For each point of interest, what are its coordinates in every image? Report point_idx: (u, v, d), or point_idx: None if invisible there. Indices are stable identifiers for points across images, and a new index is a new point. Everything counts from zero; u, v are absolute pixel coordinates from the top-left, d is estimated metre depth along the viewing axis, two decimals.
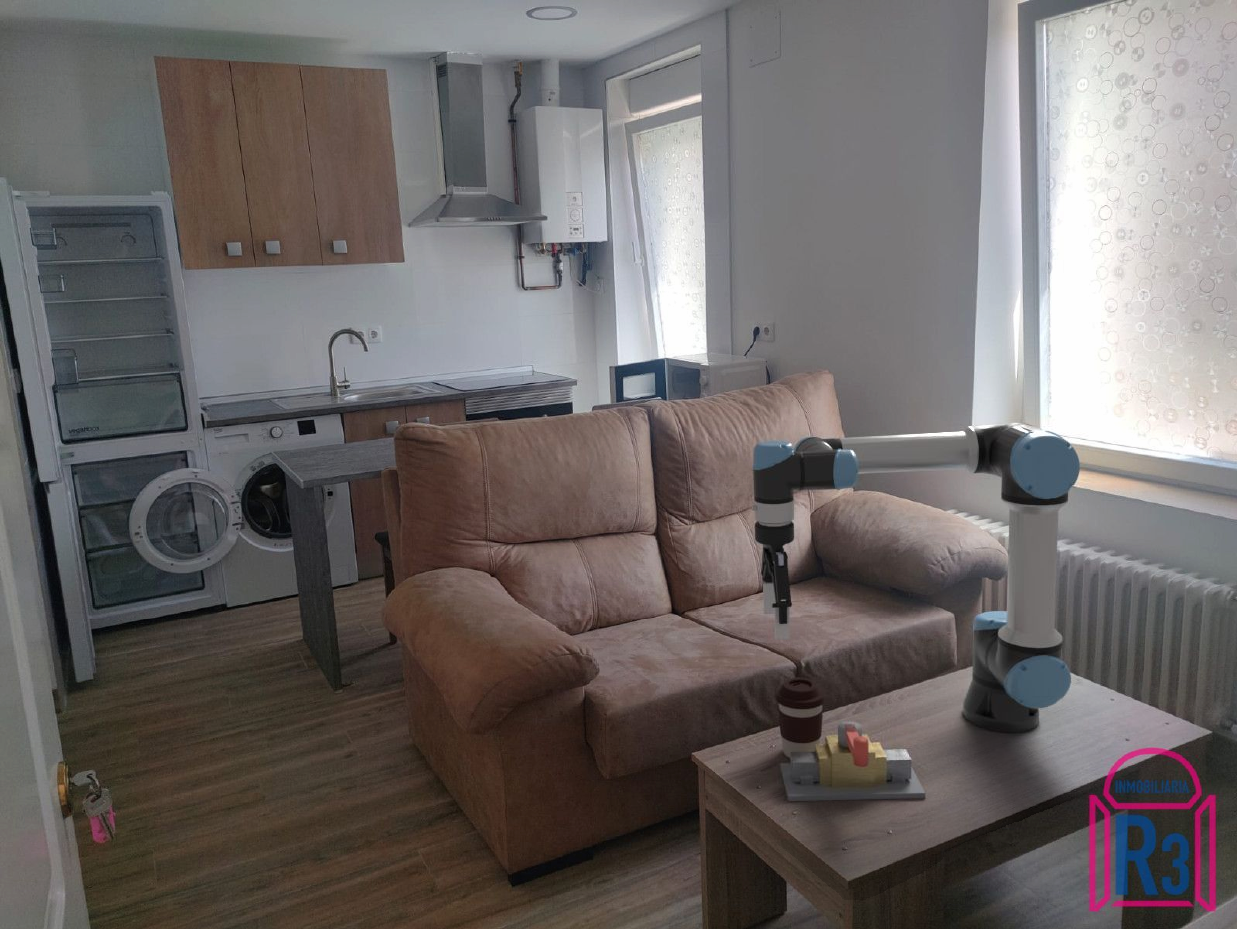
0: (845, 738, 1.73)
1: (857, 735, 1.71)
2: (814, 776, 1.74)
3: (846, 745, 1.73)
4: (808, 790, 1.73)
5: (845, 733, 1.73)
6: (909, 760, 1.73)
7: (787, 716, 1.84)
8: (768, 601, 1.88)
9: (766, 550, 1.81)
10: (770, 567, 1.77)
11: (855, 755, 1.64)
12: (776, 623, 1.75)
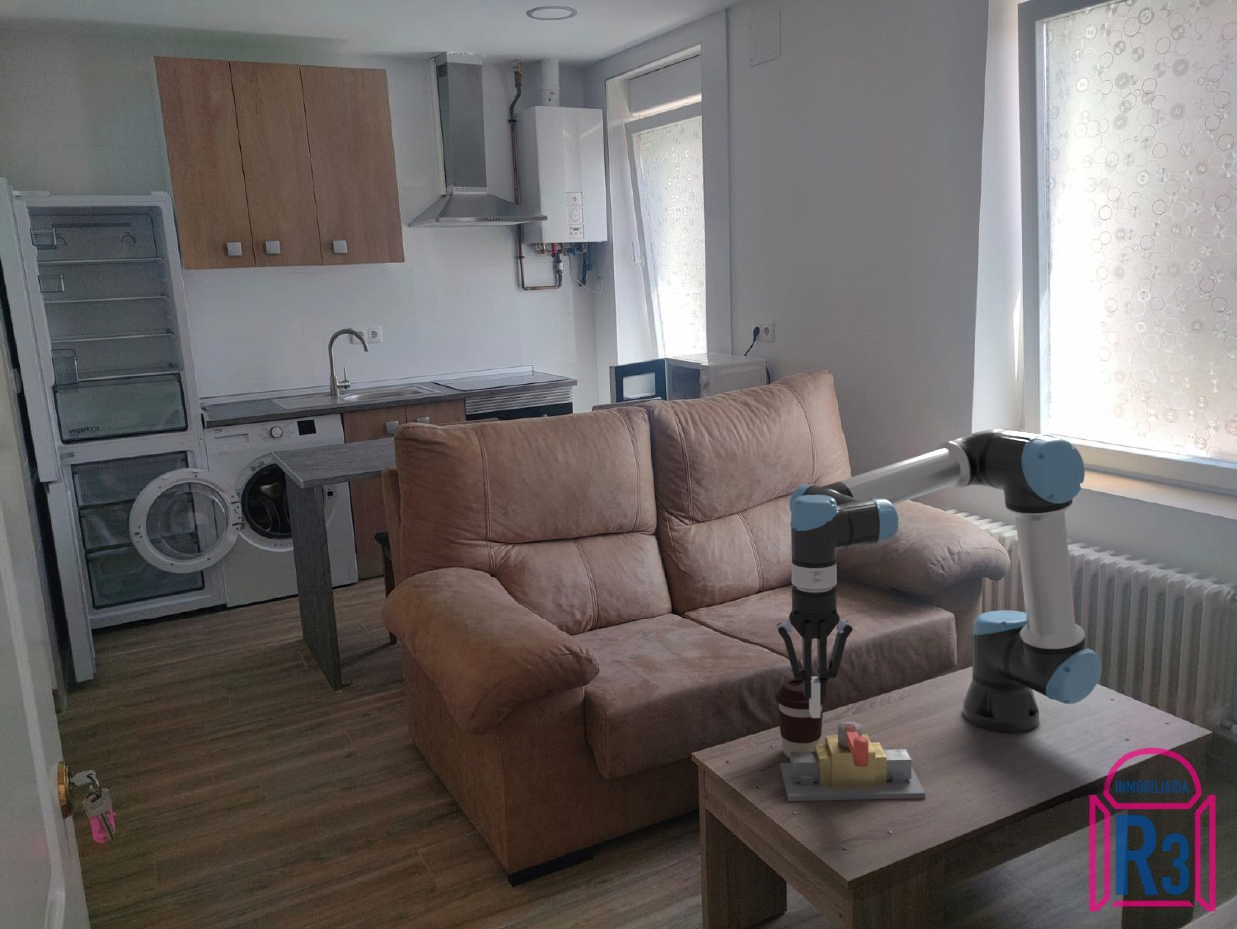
0: (845, 738, 1.73)
1: (857, 735, 1.71)
2: (814, 776, 1.74)
3: (846, 745, 1.73)
4: (808, 790, 1.73)
5: (845, 733, 1.73)
6: (909, 760, 1.73)
7: (787, 716, 1.84)
8: None
9: (808, 621, 1.58)
10: (826, 639, 1.58)
11: (855, 755, 1.64)
12: None
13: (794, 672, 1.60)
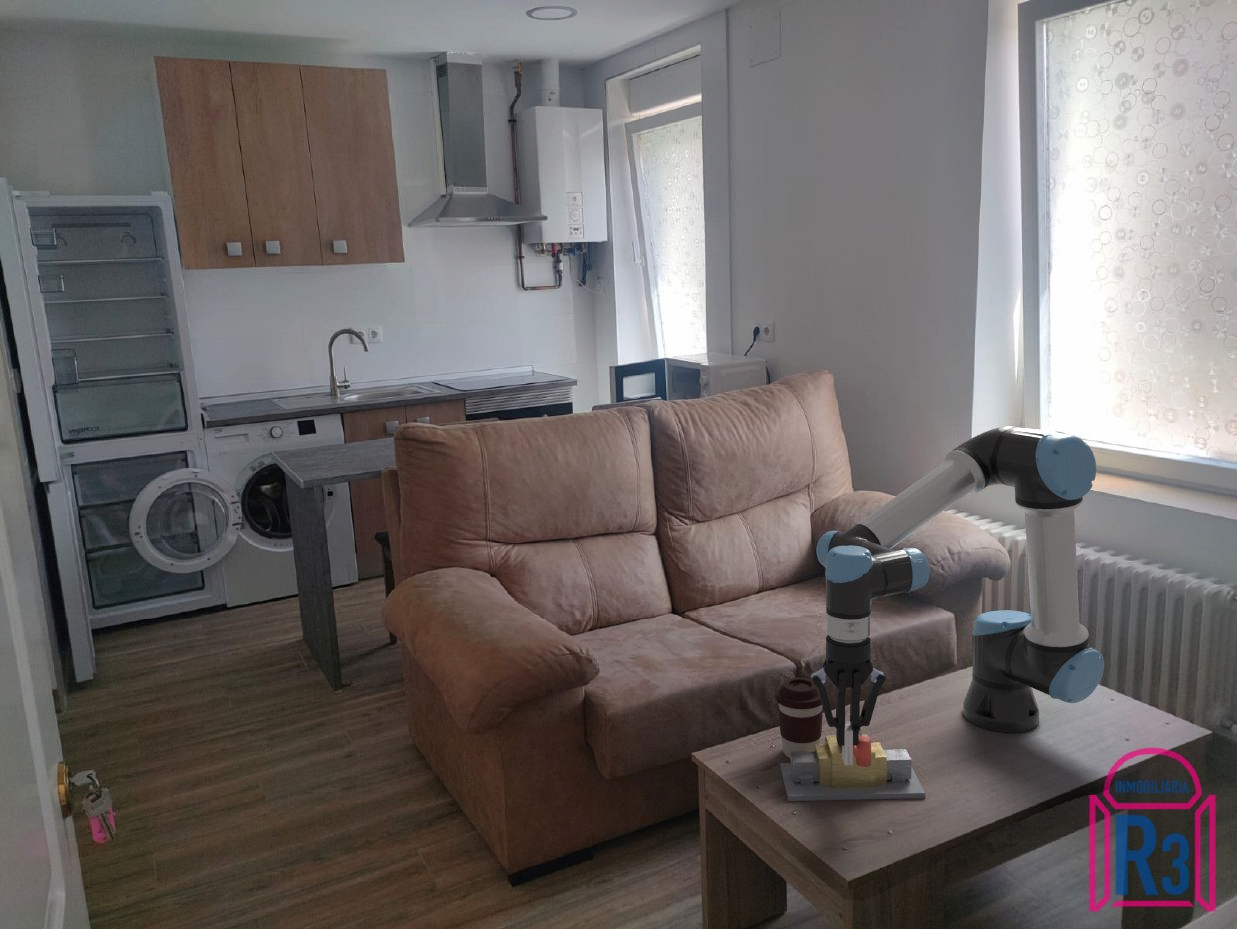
0: None
1: None
2: (814, 776, 1.74)
3: None
4: (808, 790, 1.73)
5: None
6: (909, 760, 1.73)
7: (787, 716, 1.84)
8: None
9: (842, 671, 1.59)
10: None
11: (858, 755, 1.64)
12: None
13: (828, 720, 1.62)
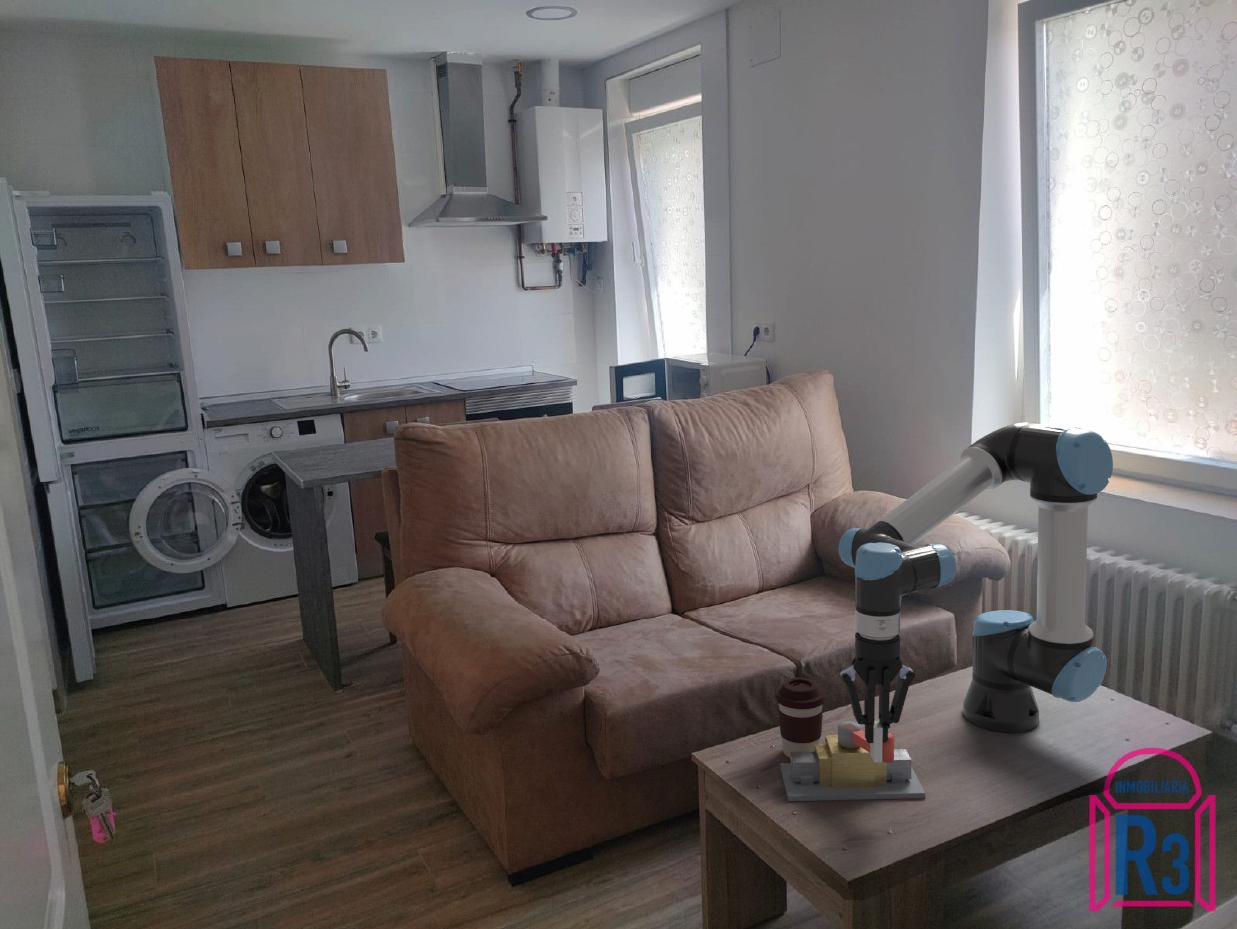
0: (851, 739, 1.73)
1: None
2: (814, 776, 1.74)
3: (852, 745, 1.73)
4: (808, 790, 1.73)
5: (851, 734, 1.72)
6: (909, 760, 1.73)
7: (787, 716, 1.84)
8: None
9: (872, 668, 1.59)
10: (889, 685, 1.60)
11: (884, 752, 1.64)
12: None
13: (857, 718, 1.61)
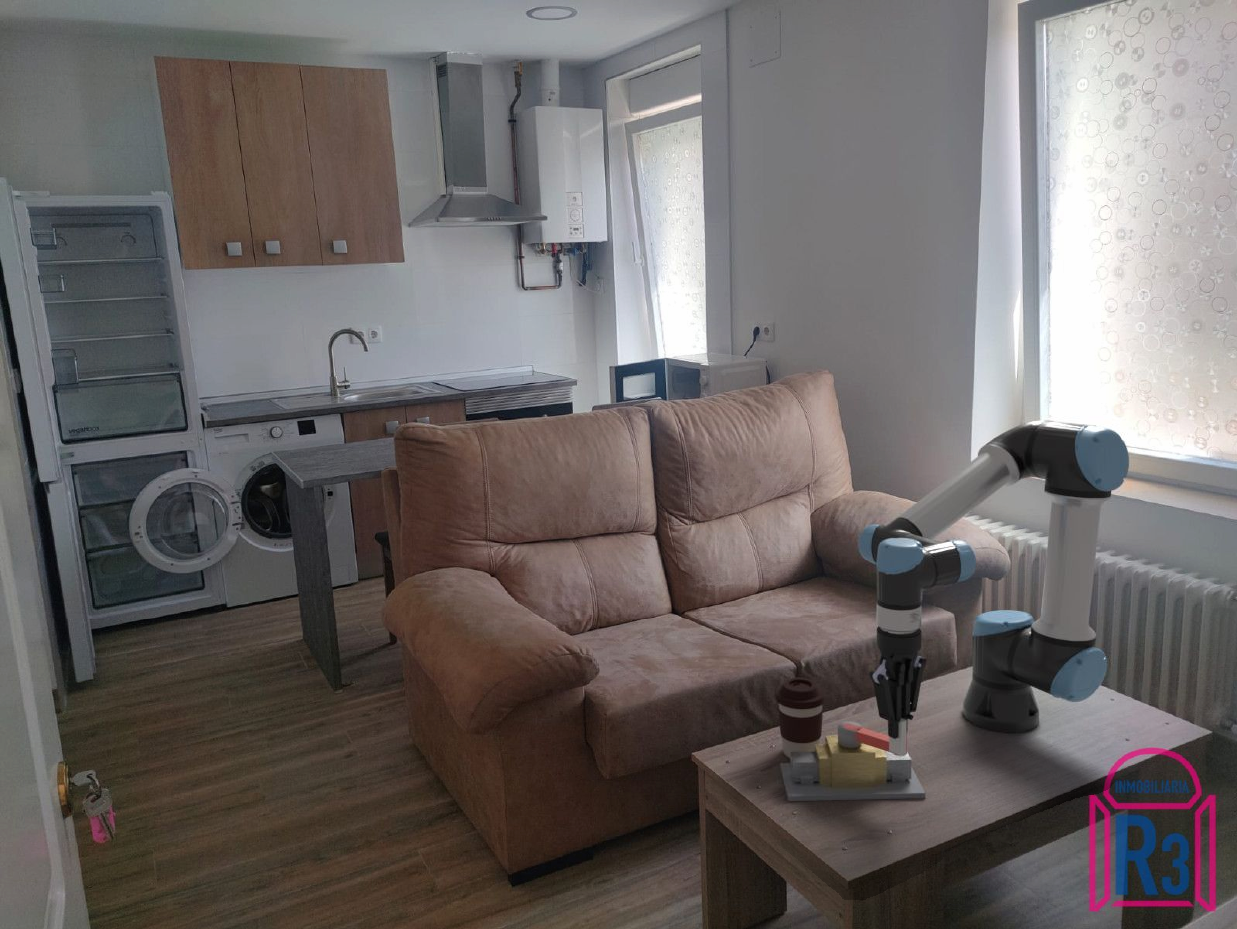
0: (855, 738, 1.73)
1: (868, 730, 1.73)
2: (814, 776, 1.74)
3: (856, 745, 1.73)
4: (808, 790, 1.73)
5: (855, 733, 1.72)
6: (909, 760, 1.73)
7: (787, 716, 1.84)
8: None
9: (900, 663, 1.61)
10: None
11: None
12: None
13: (890, 716, 1.61)
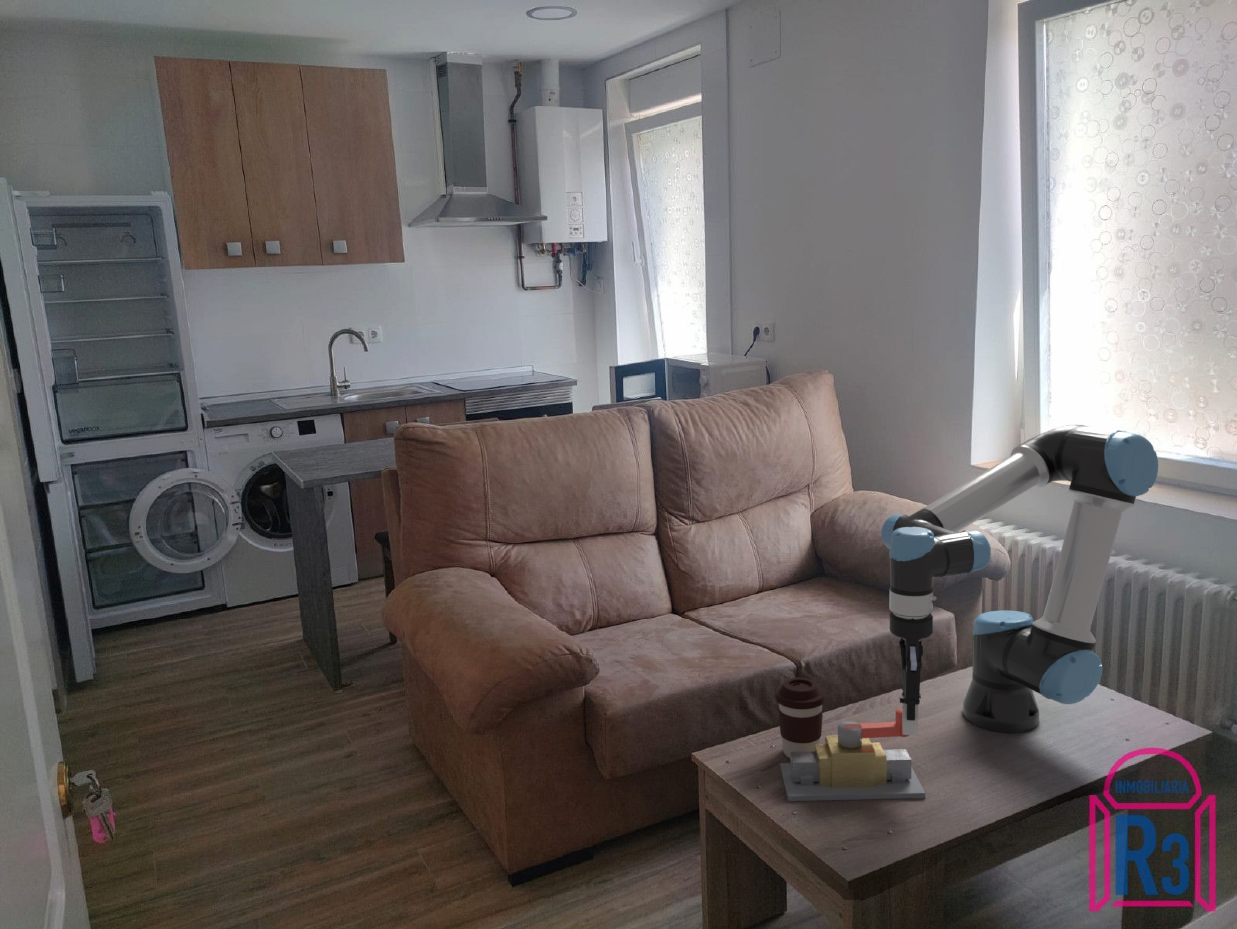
0: (861, 736, 1.73)
1: (867, 723, 1.75)
2: (814, 776, 1.74)
3: (861, 742, 1.74)
4: (808, 790, 1.73)
5: (861, 730, 1.73)
6: (909, 760, 1.73)
7: (787, 716, 1.84)
8: None
9: (919, 645, 1.68)
10: None
11: None
12: None
13: None
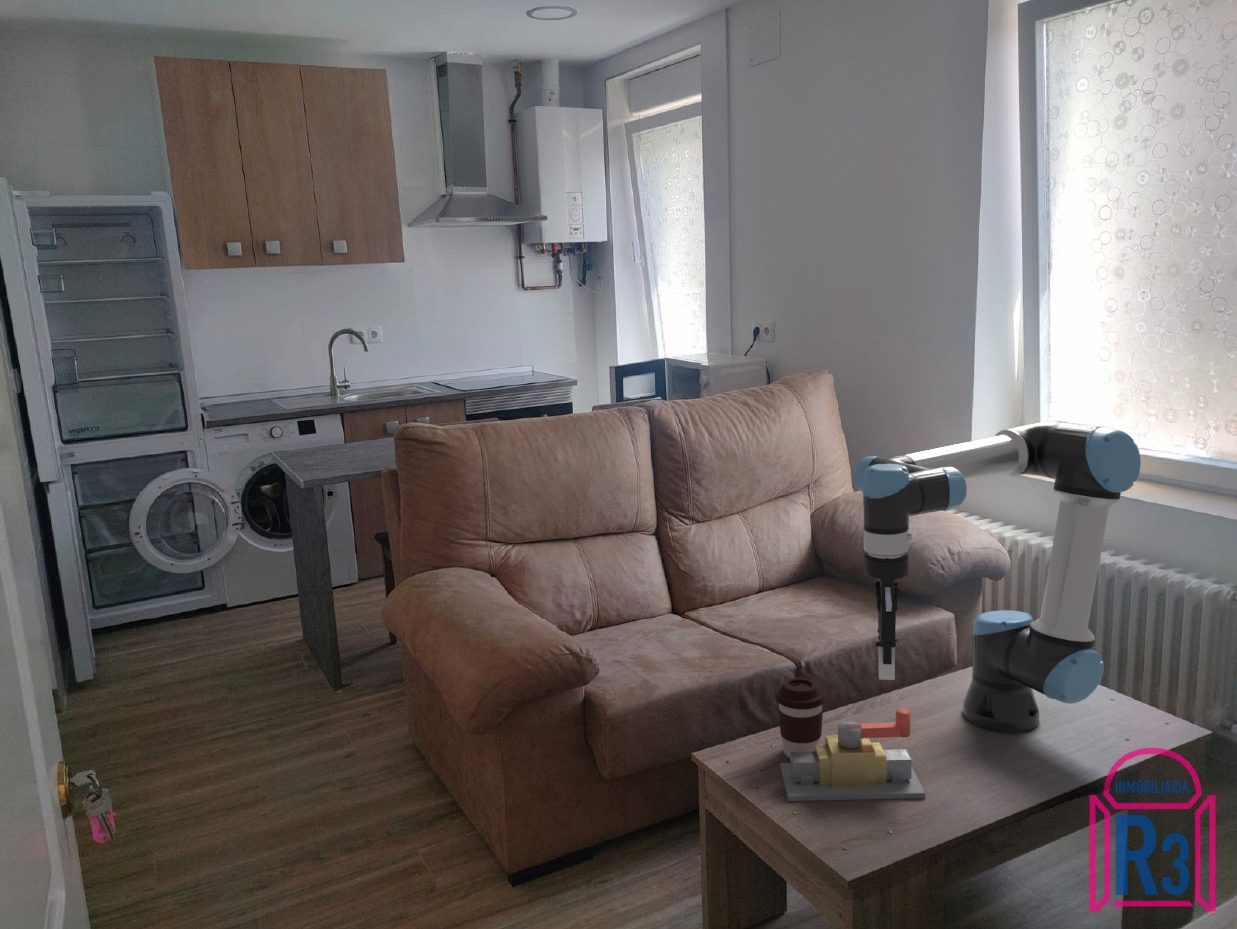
0: (861, 736, 1.73)
1: (867, 724, 1.75)
2: (814, 776, 1.74)
3: (861, 742, 1.74)
4: (808, 790, 1.73)
5: (861, 731, 1.73)
6: (909, 760, 1.73)
7: (787, 716, 1.84)
8: None
9: (895, 586, 1.62)
10: None
11: (908, 727, 1.73)
12: None
13: None
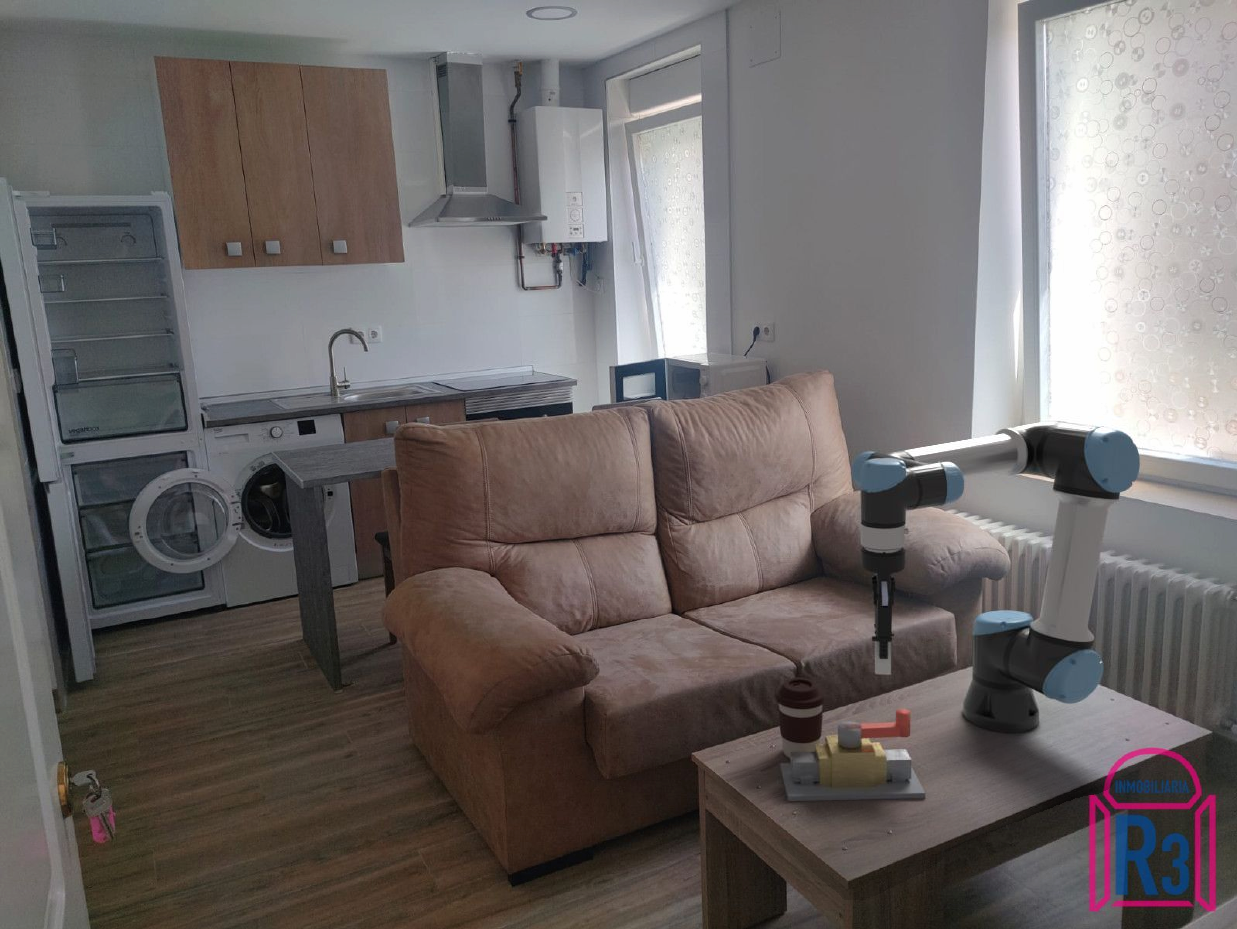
0: (861, 736, 1.73)
1: (867, 724, 1.75)
2: (814, 776, 1.74)
3: (861, 742, 1.74)
4: (808, 790, 1.73)
5: (861, 731, 1.73)
6: (909, 760, 1.73)
7: (787, 716, 1.84)
8: None
9: (892, 581, 1.62)
10: None
11: (908, 727, 1.73)
12: None
13: None
